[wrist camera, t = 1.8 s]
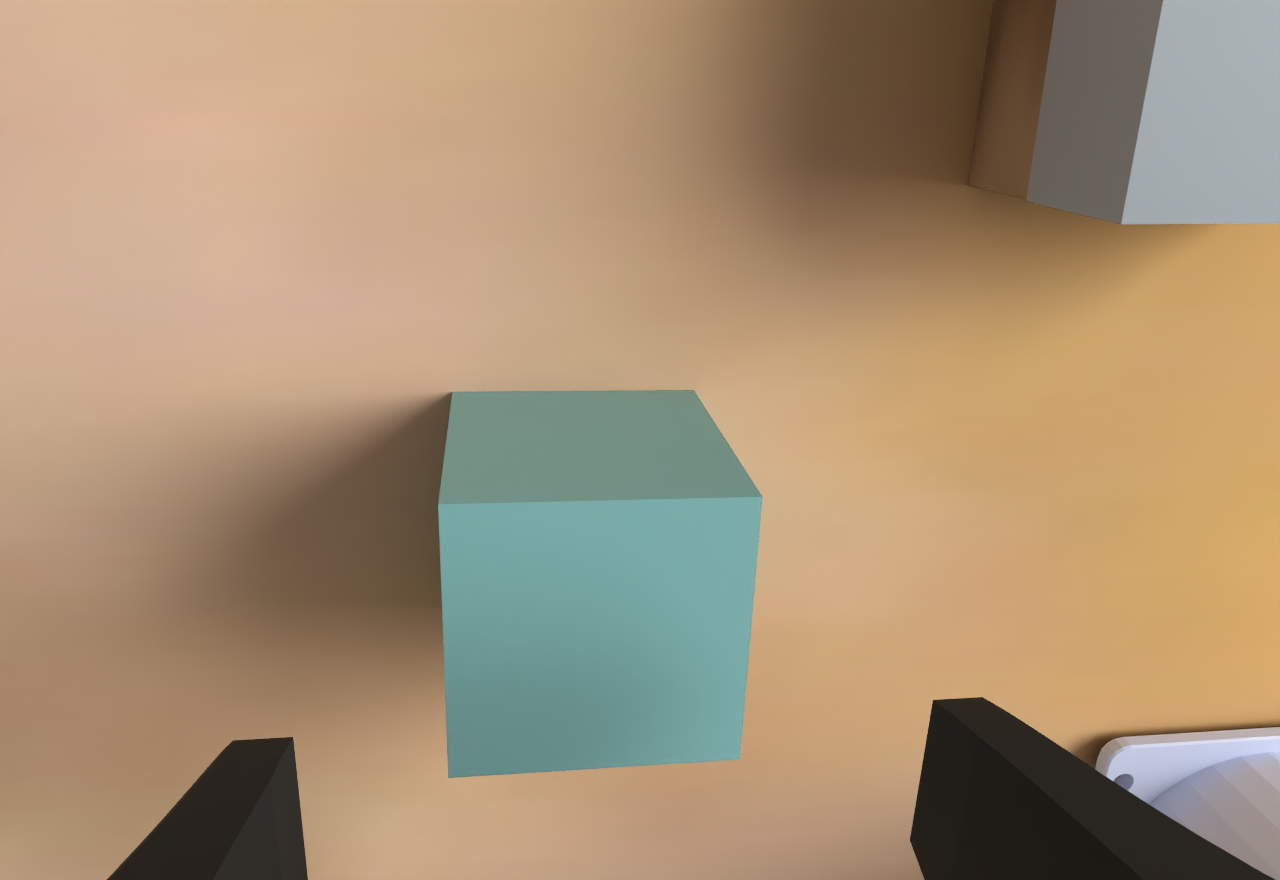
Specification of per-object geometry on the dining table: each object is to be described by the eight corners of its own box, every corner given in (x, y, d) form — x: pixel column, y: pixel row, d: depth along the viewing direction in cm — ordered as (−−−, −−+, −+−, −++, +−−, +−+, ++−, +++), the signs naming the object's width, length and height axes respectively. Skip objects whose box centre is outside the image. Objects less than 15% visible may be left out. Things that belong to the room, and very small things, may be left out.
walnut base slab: (1250, 187, 19) (1357, 203, 16) (956, 183, 18) (1025, 198, 16) (1336, -173, 17) (1474, -214, 14) (1008, -198, 16) (1098, -245, 13)
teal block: (681, 597, 20) (739, 759, 15) (459, 606, 19) (448, 778, 14) (693, 389, 18) (762, 497, 13) (452, 390, 17) (438, 504, 13)
